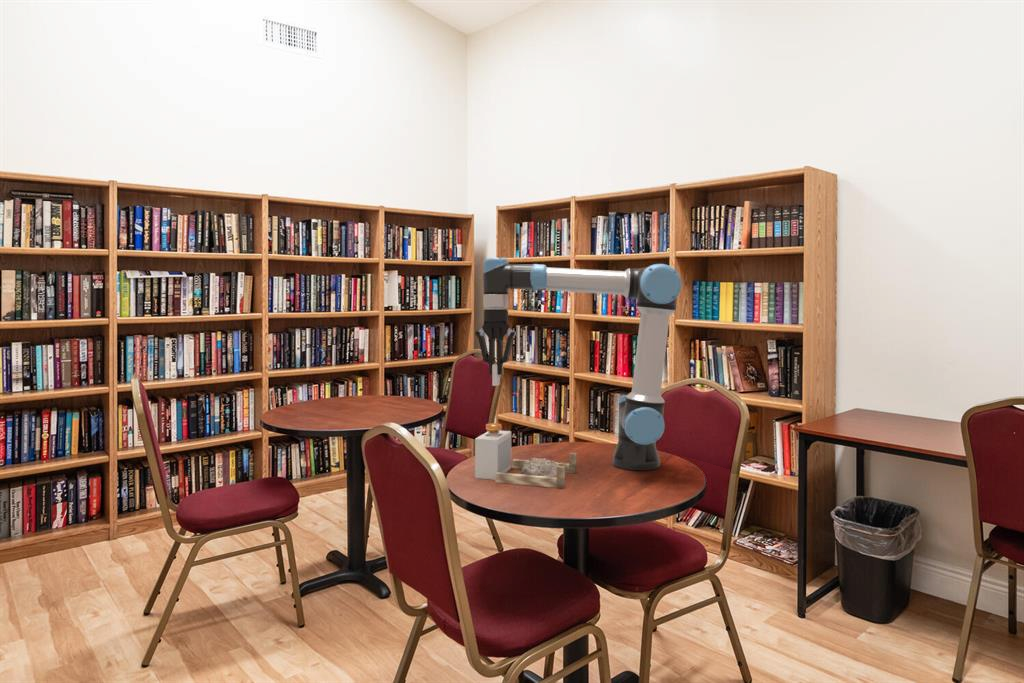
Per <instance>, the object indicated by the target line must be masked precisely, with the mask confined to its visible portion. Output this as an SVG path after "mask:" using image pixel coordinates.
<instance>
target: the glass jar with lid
mask: <svg viewBox="0 0 1024 683" xmlns="http://www.w3.org/2000/svg"><path fill="white" fill-rule="evenodd" d="M485 430H486V431H487V432H488V431H489V436H495V437H499V431H502V423H496V422H494V423H493V422H492V423H486V424H485Z"/></svg>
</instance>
